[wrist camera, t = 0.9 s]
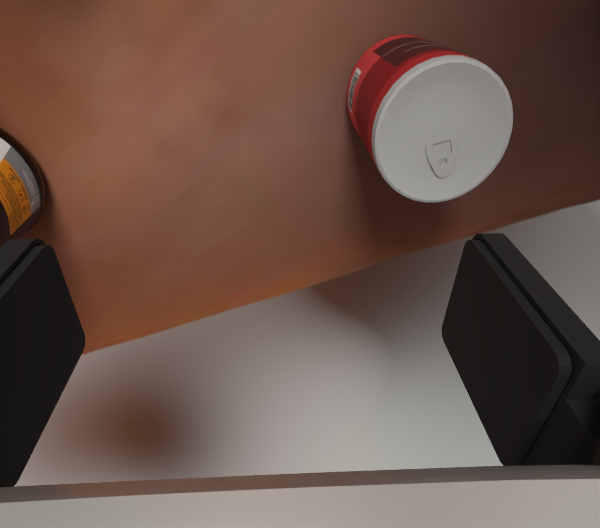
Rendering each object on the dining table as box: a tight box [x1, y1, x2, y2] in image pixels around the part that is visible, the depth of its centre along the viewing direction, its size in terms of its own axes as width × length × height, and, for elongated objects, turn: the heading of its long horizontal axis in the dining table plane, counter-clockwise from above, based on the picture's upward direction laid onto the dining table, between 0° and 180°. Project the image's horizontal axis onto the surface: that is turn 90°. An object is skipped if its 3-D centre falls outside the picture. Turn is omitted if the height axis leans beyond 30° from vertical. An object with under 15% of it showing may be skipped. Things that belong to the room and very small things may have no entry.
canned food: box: [347, 35, 513, 202], centre depth 28 cm, size 8×8×11 cm
